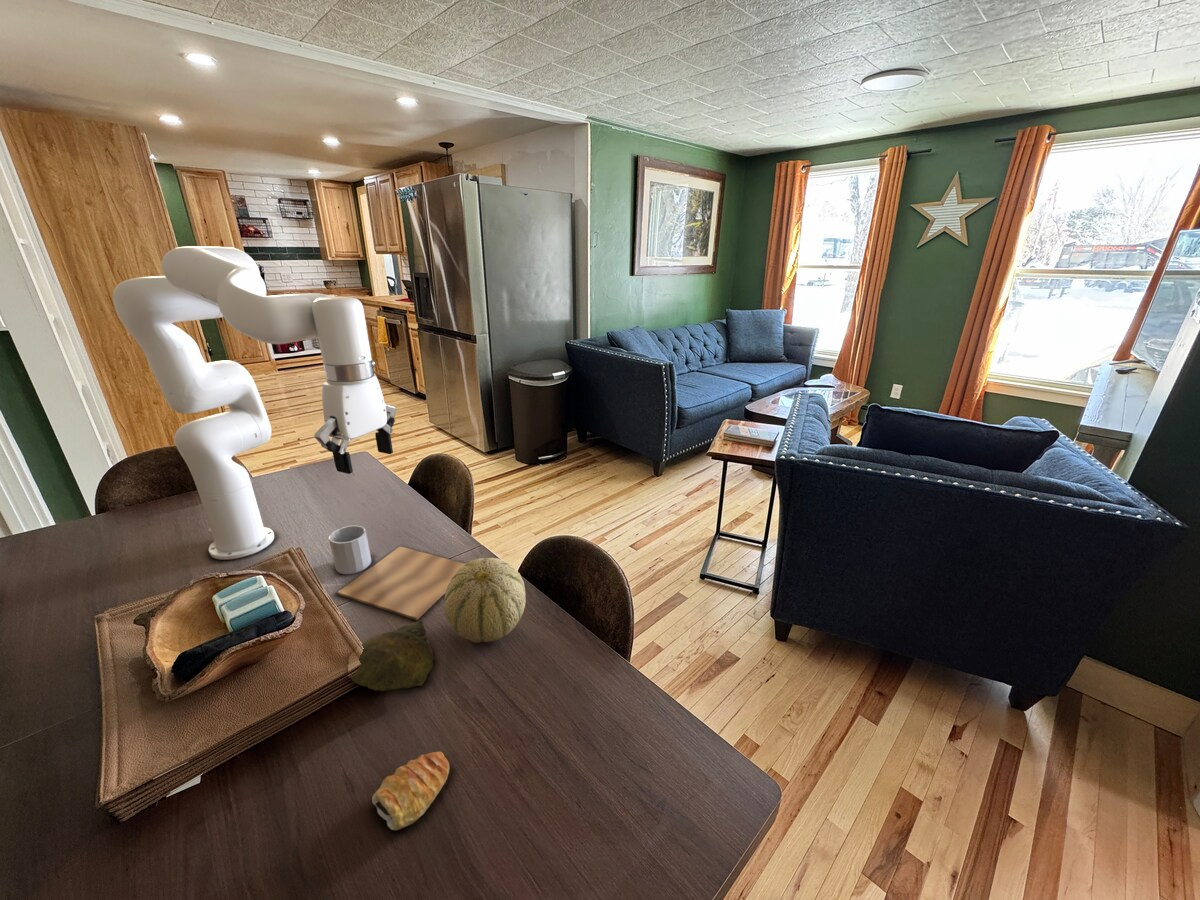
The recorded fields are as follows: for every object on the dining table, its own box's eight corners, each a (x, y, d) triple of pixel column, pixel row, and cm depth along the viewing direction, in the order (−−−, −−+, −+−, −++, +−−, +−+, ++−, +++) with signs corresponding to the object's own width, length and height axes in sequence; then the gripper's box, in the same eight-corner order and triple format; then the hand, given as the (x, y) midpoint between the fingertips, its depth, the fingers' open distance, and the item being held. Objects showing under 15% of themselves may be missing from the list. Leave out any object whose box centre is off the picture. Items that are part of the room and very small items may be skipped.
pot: (328, 569, 104) (321, 538, 101) (354, 552, 111) (348, 522, 108) (353, 577, 102) (346, 546, 99) (378, 559, 108) (373, 529, 105)
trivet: (337, 594, 97) (337, 592, 97) (400, 548, 113) (400, 546, 112) (416, 620, 91) (416, 618, 90) (471, 567, 106) (471, 565, 106)
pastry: (430, 749, 67) (427, 730, 66) (462, 778, 64) (460, 759, 62) (368, 807, 60) (363, 787, 59) (400, 843, 56) (396, 823, 55)
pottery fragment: (348, 713, 72) (343, 693, 71) (347, 648, 84) (343, 630, 82) (439, 682, 78) (436, 663, 76) (426, 625, 89) (424, 608, 88)
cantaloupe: (499, 593, 98) (495, 531, 93) (543, 631, 89) (541, 565, 83) (432, 628, 89) (423, 562, 83) (473, 675, 79) (466, 603, 74)
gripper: (371, 360, 90) (385, 443, 97) (287, 380, 75) (310, 476, 82) (402, 364, 88) (414, 449, 95) (322, 385, 73) (343, 484, 80)
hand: (366, 461), depth 88 cm, fingers open, 9 cm apart
